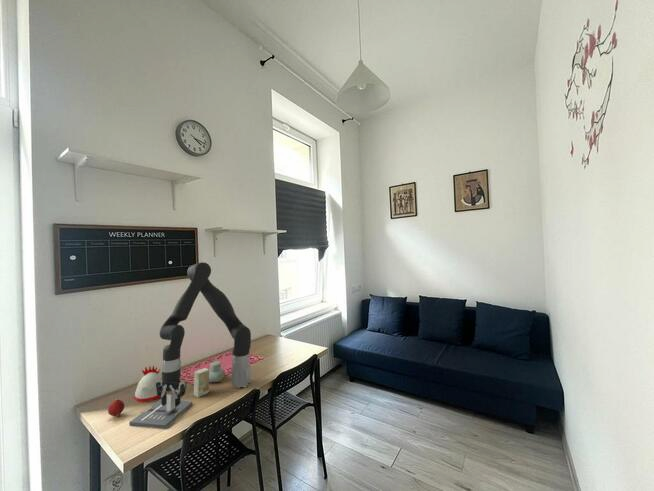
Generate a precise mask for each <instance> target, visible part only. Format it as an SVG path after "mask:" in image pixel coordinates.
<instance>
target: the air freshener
mask: <svg viewBox="0 0 654 491" xmlns="http://www.w3.org/2000/svg"><path fill="white" fill-rule="evenodd" d="M225 375H226V371H225V369H223V368H222V362H221V361H212V362H210V364H209V383H212V382H214V383H218V381H219V382H220V381H222V380H223V379H224V377H225Z"/></svg>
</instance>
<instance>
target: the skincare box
mask: <svg viewBox="0 0 654 491" xmlns="http://www.w3.org/2000/svg"><path fill="white" fill-rule="evenodd" d="M209 370H210V368H207V367H204V368H201V369H198V370H195V371H194V372H193V373H194V374H193V377H194V378H193V396H195V397H197V398H200V397H202V396H204V395H206V394H209V393H208V392H210V382H209Z"/></svg>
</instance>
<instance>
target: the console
mask: <svg viewBox="0 0 654 491" xmlns="http://www.w3.org/2000/svg"><path fill="white" fill-rule="evenodd" d="M161 400H162V398H160V399H159V400H158V401H156V402H155V403H154V404H152V405H151V406H149V407H148V408H147V409H145V410H144V411H142V412H141V413H140V414H138V415H137V416H135V417H134V418H133V419H132V420H129V424H128V425H129V426H130V427H140V428H141V427H142V428H152V429H163V430H166V429H167V428H168V427H169V426H170V425H172V424H173V423H174V422H175V421H176V420H177V419H178V418H180V416H181V415H183V414H184V413H185V411H187V410H189V409H190V408H191V407H192V406H193V401H190V400H189V401H187V400H180V404H179V405H178V406H177V407H176V408H175V409H174V410H173V411H172V412H171V413H169V414H165V412H166V408H167V404H166V405H164V406H162V403H161Z"/></svg>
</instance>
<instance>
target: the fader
mask: <svg viewBox="0 0 654 491" xmlns="http://www.w3.org/2000/svg"><path fill="white" fill-rule="evenodd" d="M175 408H176V407H175V396H174V394H173V393H172V392H171V391H168V393H167V408H166V412H165V414H169V413H171V412H172V411H173V410H174V409H175Z"/></svg>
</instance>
